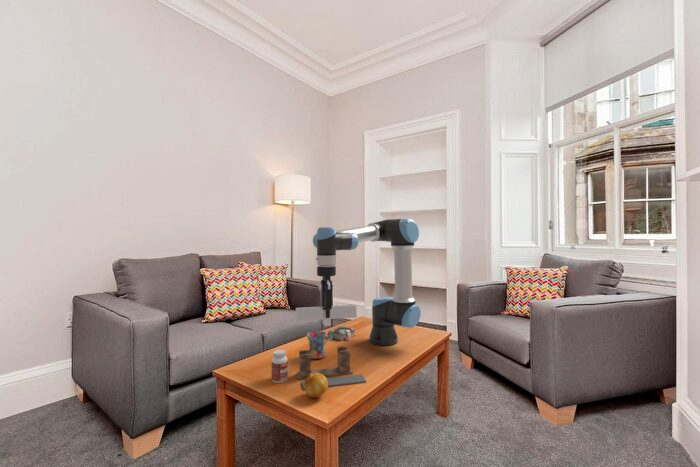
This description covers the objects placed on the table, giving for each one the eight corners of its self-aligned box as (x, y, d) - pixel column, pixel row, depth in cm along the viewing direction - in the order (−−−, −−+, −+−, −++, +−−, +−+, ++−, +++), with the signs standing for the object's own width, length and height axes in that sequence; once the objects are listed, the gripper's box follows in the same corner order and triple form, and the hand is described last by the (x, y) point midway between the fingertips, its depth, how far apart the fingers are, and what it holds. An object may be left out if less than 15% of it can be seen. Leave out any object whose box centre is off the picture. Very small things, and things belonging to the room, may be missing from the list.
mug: (315, 362, 147) (315, 338, 147) (302, 357, 153) (302, 334, 153) (335, 354, 156) (334, 332, 156) (321, 350, 162) (321, 328, 162)
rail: (354, 315, 137) (354, 304, 137) (356, 317, 134) (356, 306, 134) (295, 319, 131) (295, 307, 131) (296, 321, 128) (296, 309, 128)
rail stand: (348, 367, 141) (348, 345, 141) (352, 373, 135) (352, 350, 135) (296, 373, 135) (296, 350, 135) (298, 379, 129) (298, 355, 129)
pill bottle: (282, 384, 125) (281, 355, 125) (268, 382, 128) (268, 353, 128) (290, 378, 131) (290, 350, 131) (277, 375, 134) (277, 348, 133)
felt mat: (361, 375, 133) (361, 374, 133) (366, 382, 127) (366, 380, 127) (301, 383, 127) (301, 381, 127) (303, 390, 121) (303, 388, 121)
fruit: (301, 401, 113) (301, 377, 113) (308, 390, 121) (308, 368, 121) (325, 403, 112) (324, 379, 112) (330, 391, 120) (330, 369, 120)
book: (339, 345, 170) (339, 335, 170) (321, 341, 177) (321, 331, 177) (360, 335, 187) (360, 326, 187) (343, 331, 193) (343, 323, 193)
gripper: (314, 264, 139) (314, 320, 139) (319, 268, 124) (320, 330, 124) (332, 263, 141) (332, 318, 141) (339, 267, 125) (339, 329, 125)
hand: (326, 324), depth 132 cm, fingers closed on rail, 3 cm apart
